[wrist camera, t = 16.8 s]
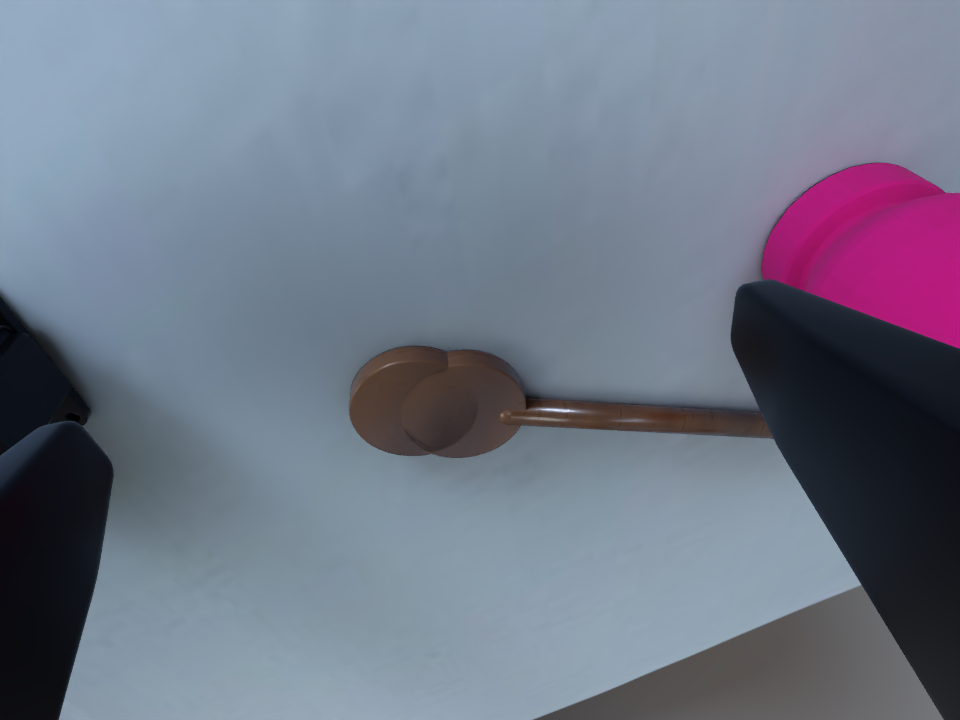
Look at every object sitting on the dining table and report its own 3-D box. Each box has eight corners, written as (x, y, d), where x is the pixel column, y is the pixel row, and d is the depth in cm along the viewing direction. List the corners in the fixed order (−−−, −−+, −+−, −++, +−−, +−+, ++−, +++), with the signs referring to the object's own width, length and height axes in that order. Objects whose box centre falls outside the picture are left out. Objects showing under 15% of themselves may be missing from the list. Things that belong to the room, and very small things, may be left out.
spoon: (346, 437, 27) (345, 457, 26) (353, 339, 24) (352, 358, 23) (786, 457, 31) (798, 475, 30) (842, 378, 28) (858, 395, 27)
